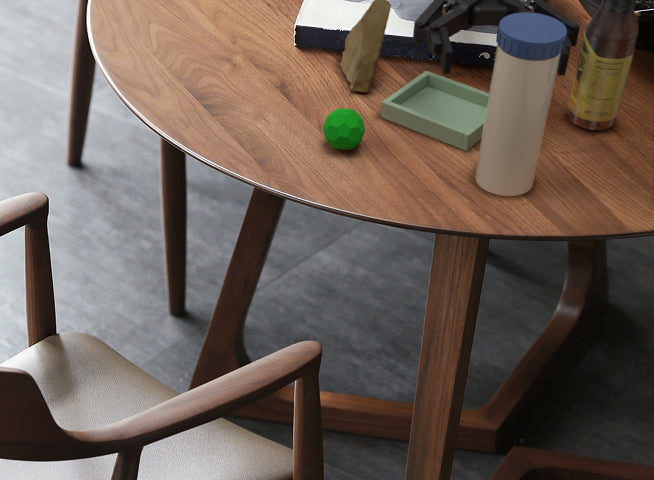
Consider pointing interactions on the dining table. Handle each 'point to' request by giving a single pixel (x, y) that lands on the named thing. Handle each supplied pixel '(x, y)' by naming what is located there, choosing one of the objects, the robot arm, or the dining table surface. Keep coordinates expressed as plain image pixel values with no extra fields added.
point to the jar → (515, 123)
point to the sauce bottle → (604, 65)
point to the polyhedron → (343, 129)
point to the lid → (531, 35)
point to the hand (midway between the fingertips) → (506, 64)
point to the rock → (365, 46)
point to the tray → (439, 109)
